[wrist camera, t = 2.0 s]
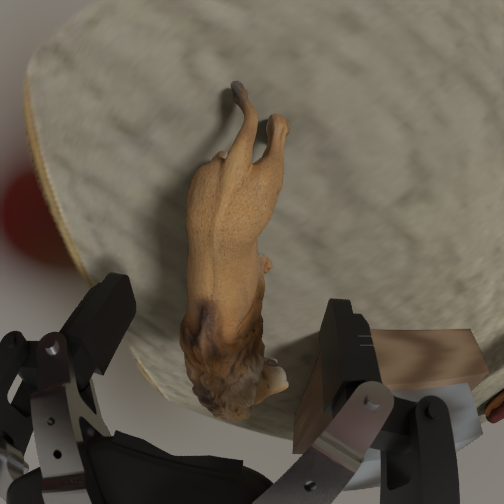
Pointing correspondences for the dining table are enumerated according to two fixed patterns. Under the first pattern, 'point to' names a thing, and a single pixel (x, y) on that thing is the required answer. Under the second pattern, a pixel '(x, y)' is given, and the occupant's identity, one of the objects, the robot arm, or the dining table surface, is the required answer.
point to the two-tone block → (407, 388)
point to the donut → (495, 409)
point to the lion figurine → (232, 270)
